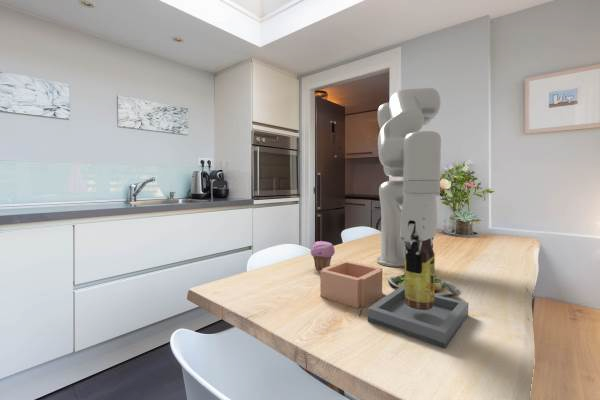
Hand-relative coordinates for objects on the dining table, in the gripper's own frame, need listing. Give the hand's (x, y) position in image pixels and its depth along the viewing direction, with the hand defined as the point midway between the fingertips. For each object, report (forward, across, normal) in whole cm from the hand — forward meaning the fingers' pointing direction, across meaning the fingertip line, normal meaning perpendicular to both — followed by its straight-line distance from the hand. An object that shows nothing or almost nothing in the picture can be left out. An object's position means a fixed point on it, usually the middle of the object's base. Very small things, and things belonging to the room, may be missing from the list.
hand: (419, 267), depth 64 cm
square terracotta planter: (+12, -2, -19) cm, 22 cm away
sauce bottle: (+9, 0, 0) cm, 9 cm away
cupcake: (+12, -16, -40) cm, 45 cm away
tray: (+12, 0, 0) cm, 12 cm away
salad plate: (+12, -21, -7) cm, 25 cm away
